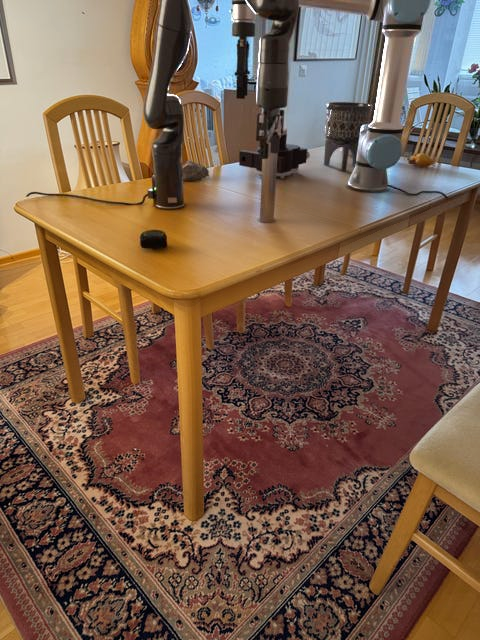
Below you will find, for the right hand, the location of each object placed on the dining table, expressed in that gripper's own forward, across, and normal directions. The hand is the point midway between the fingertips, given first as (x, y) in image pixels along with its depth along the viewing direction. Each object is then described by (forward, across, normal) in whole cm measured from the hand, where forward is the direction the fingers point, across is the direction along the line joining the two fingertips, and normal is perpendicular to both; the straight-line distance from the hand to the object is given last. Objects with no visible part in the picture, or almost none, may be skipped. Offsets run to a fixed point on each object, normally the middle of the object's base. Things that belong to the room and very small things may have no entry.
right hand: (242, 97), depth 153 cm
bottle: (+32, +33, +11) cm, 47 cm away
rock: (+32, -16, -20) cm, 41 cm away
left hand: (+10, +47, +10) cm, 49 cm away
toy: (+32, -59, +81) cm, 105 cm away
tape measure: (+32, +61, -18) cm, 71 cm away
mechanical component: (+32, -33, +15) cm, 48 cm away
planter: (+32, -51, +44) cm, 74 cm away
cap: (+7, +33, +11) cm, 35 cm away
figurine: (+32, -84, +51) cm, 104 cm away
